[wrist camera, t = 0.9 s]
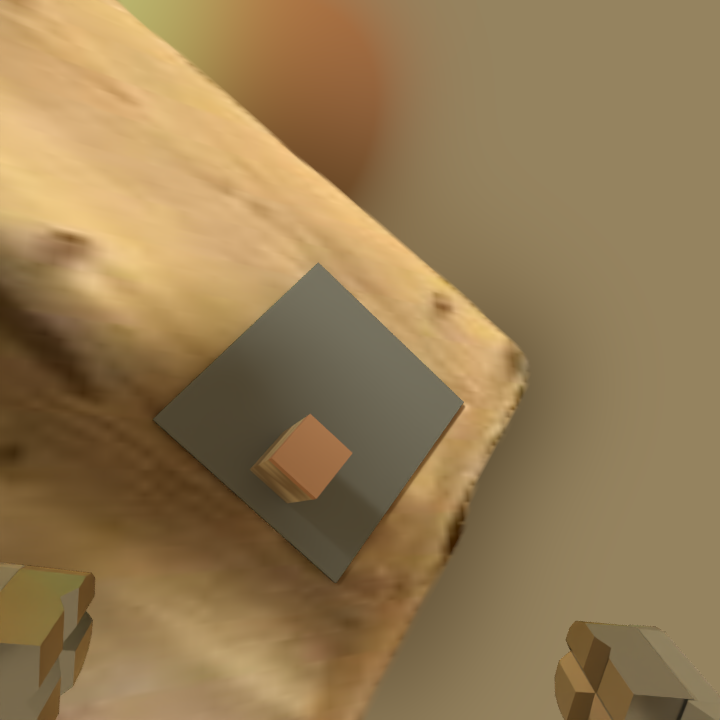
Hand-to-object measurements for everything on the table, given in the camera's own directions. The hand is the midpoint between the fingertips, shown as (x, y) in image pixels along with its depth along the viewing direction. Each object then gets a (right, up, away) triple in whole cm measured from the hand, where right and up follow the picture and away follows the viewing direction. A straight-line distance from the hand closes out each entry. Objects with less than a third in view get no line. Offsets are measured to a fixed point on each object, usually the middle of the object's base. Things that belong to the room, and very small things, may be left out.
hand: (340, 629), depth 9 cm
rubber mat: (-3, 0, +37) cm, 37 cm away
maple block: (-6, -4, +34) cm, 34 cm away
